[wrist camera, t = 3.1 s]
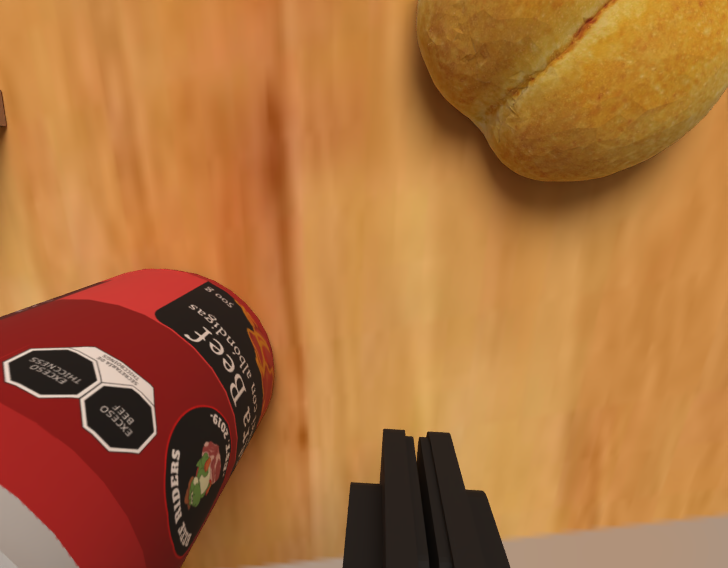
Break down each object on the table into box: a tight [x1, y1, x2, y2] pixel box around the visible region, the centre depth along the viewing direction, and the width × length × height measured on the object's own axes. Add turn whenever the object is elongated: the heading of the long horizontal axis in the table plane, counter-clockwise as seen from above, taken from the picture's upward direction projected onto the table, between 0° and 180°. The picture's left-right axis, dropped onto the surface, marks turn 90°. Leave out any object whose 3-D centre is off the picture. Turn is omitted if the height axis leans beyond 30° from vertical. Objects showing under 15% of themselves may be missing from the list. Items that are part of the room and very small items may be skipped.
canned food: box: [0, 269, 274, 568], centre depth 12 cm, size 8×8×11 cm
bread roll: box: [416, 0, 728, 181], centre depth 12 cm, size 8×9×4 cm
